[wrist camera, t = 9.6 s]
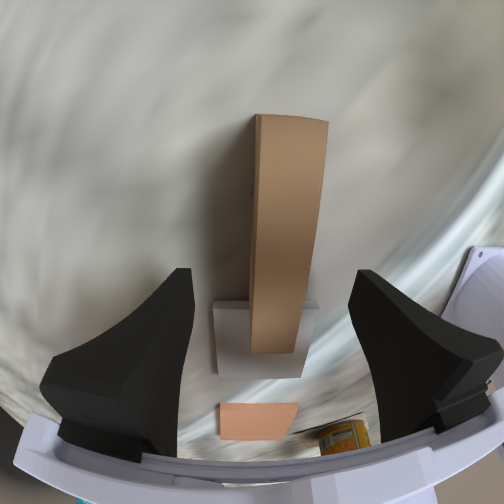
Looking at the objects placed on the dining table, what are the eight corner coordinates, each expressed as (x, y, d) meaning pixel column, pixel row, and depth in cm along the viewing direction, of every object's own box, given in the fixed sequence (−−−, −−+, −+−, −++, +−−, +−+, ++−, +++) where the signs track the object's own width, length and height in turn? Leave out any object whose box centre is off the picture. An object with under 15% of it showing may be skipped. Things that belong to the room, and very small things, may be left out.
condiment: (368, 427, 28) (387, 503, 18) (308, 446, 29) (318, 521, 19) (364, 410, 25) (388, 502, 14) (293, 431, 26) (303, 523, 16)
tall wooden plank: (208, 113, 11) (192, 115, 7) (344, 122, 11) (385, 131, 7) (219, 370, 19) (216, 416, 16) (299, 369, 19) (306, 413, 16)
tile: (298, 409, 21) (283, 439, 25) (296, 398, 23) (282, 430, 26) (219, 410, 21) (220, 439, 25) (220, 398, 22) (220, 430, 26)
